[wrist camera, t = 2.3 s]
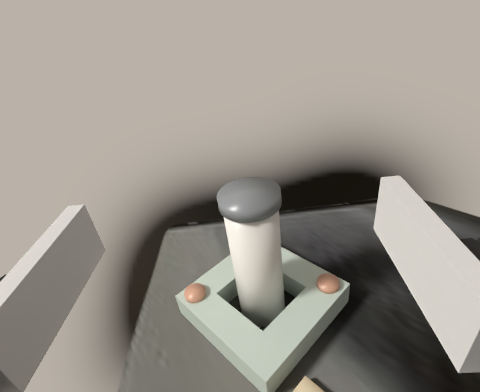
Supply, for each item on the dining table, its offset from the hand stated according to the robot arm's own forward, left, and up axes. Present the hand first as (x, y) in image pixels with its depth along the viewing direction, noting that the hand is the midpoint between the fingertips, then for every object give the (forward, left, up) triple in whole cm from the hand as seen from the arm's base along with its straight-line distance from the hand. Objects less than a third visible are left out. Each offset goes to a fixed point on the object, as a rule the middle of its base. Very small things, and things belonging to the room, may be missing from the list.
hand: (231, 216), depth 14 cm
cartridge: (-9, -8, -22) cm, 25 cm away
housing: (-9, -8, -22) cm, 25 cm away
